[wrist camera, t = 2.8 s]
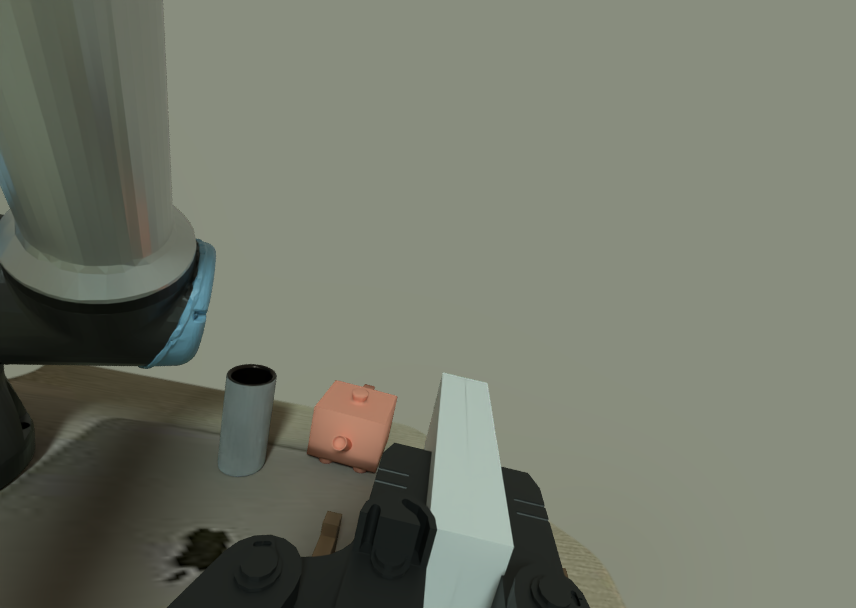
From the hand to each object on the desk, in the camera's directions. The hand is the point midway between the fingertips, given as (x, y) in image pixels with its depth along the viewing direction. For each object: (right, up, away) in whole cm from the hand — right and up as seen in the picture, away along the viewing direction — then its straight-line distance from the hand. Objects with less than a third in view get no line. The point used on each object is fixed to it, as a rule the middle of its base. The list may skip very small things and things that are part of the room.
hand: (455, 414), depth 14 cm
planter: (-20, -13, +29) cm, 38 cm away
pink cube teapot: (-10, -14, +34) cm, 38 cm away
